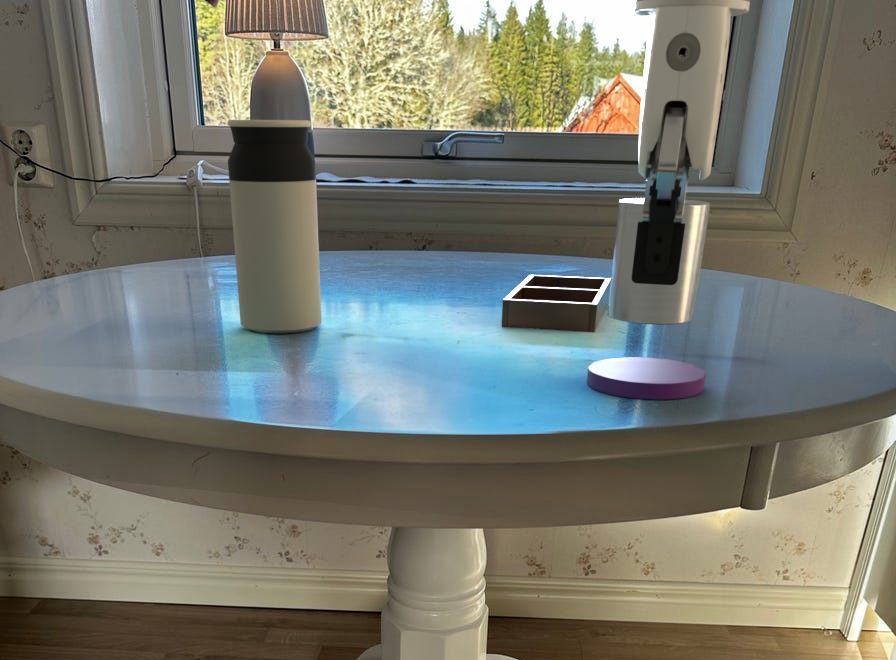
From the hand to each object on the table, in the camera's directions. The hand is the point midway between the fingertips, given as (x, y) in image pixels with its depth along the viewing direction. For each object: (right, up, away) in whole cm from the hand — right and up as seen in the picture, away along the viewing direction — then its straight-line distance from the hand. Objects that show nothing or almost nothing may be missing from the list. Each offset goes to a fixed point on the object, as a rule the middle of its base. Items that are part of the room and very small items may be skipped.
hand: (656, 274), depth 71 cm
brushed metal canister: (0, -3, +1) cm, 3 cm away
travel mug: (-31, +4, +24) cm, 39 cm away
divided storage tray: (-3, +6, +28) cm, 29 cm away
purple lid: (0, -7, +4) cm, 8 cm away
